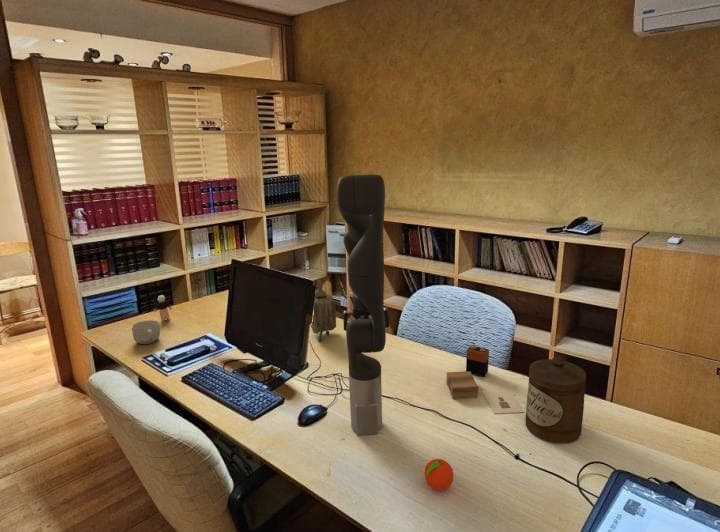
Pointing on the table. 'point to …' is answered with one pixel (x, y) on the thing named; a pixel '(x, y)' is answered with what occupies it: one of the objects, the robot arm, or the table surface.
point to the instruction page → (502, 402)
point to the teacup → (146, 331)
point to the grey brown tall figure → (323, 312)
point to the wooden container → (555, 400)
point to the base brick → (462, 385)
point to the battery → (477, 360)
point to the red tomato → (438, 474)
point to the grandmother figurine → (163, 309)
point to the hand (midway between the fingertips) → (367, 340)
